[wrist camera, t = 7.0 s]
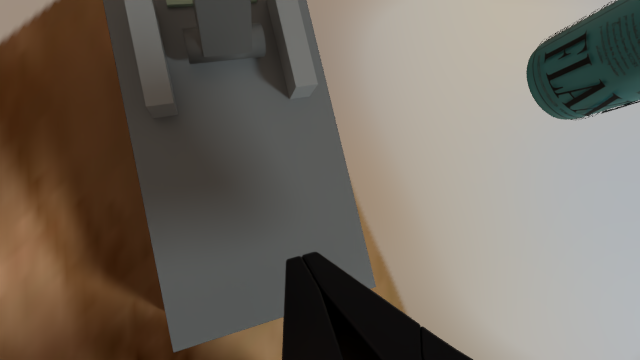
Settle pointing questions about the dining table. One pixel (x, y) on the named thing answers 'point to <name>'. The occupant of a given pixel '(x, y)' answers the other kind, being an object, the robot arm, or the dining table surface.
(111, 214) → the dining table surface
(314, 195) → the base
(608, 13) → the beverage bottle
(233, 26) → the lever
